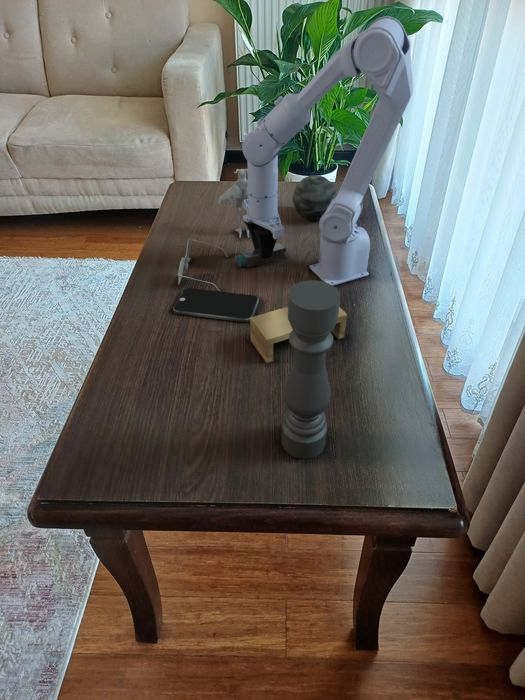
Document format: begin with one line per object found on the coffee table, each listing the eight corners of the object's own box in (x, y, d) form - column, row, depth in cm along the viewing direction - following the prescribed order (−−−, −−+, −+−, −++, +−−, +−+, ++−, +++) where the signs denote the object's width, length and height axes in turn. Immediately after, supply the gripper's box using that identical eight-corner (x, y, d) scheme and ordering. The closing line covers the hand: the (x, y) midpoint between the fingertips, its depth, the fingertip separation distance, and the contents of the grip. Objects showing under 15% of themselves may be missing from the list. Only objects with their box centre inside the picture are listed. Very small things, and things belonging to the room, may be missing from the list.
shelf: (325, 317, 95) (327, 294, 92) (344, 337, 90) (347, 314, 87) (250, 340, 90) (249, 317, 87) (266, 363, 86) (266, 339, 82)
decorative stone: (331, 207, 128) (335, 167, 121) (336, 227, 120) (340, 185, 114) (290, 208, 128) (292, 168, 121) (293, 227, 120) (294, 186, 114)
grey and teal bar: (282, 251, 112) (282, 241, 111) (287, 257, 111) (288, 247, 109) (236, 263, 109) (236, 253, 107) (241, 269, 107) (240, 259, 106)
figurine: (268, 229, 120) (268, 164, 110) (269, 237, 117) (269, 172, 107) (219, 230, 120) (215, 166, 110) (219, 239, 117) (214, 173, 107)
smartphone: (184, 287, 101) (259, 295, 99) (184, 290, 101) (260, 298, 99) (170, 310, 95) (250, 320, 93) (171, 313, 96) (250, 323, 93)
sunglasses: (189, 254, 112) (190, 233, 109) (227, 261, 112) (230, 240, 109) (176, 291, 101) (177, 269, 98) (218, 298, 102) (221, 277, 98)
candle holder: (279, 425, 76) (282, 280, 59) (321, 422, 76) (336, 277, 59) (284, 460, 71) (289, 313, 54) (329, 457, 71) (348, 310, 55)
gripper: (228, 182, 104) (231, 242, 113) (260, 211, 94) (260, 275, 103) (260, 175, 106) (261, 235, 115) (294, 204, 96) (292, 267, 105)
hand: (263, 254), depth 109 cm, fingers closed on grey and teal bar, 2 cm apart
